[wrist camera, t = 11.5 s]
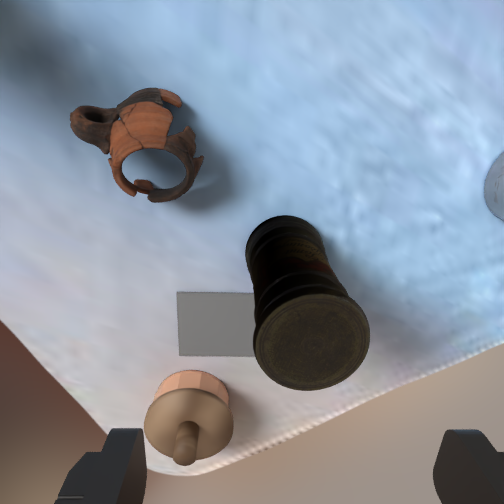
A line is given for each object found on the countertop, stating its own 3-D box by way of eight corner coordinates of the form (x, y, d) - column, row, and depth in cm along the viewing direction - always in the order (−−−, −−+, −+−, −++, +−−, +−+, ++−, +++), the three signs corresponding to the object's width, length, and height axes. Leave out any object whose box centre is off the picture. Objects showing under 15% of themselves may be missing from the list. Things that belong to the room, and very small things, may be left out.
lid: (234, 388, 44) (233, 421, 40) (232, 453, 48) (232, 490, 44) (142, 387, 44) (131, 421, 39) (148, 453, 48) (139, 491, 43)
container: (320, 284, 44) (370, 394, 27) (246, 287, 44) (250, 398, 27) (324, 212, 41) (384, 287, 24) (244, 214, 40) (248, 291, 24)
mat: (268, 293, 44) (268, 294, 44) (264, 354, 48) (264, 356, 47) (177, 291, 44) (176, 293, 43) (179, 353, 47) (179, 355, 47)
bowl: (229, 370, 48) (228, 392, 45) (228, 425, 52) (227, 450, 48) (154, 369, 48) (147, 391, 44) (158, 425, 51) (152, 450, 48)
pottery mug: (211, 95, 36) (216, 145, 31) (187, 167, 43) (189, 218, 38) (79, 54, 32) (60, 105, 27) (75, 142, 39) (60, 196, 34)
